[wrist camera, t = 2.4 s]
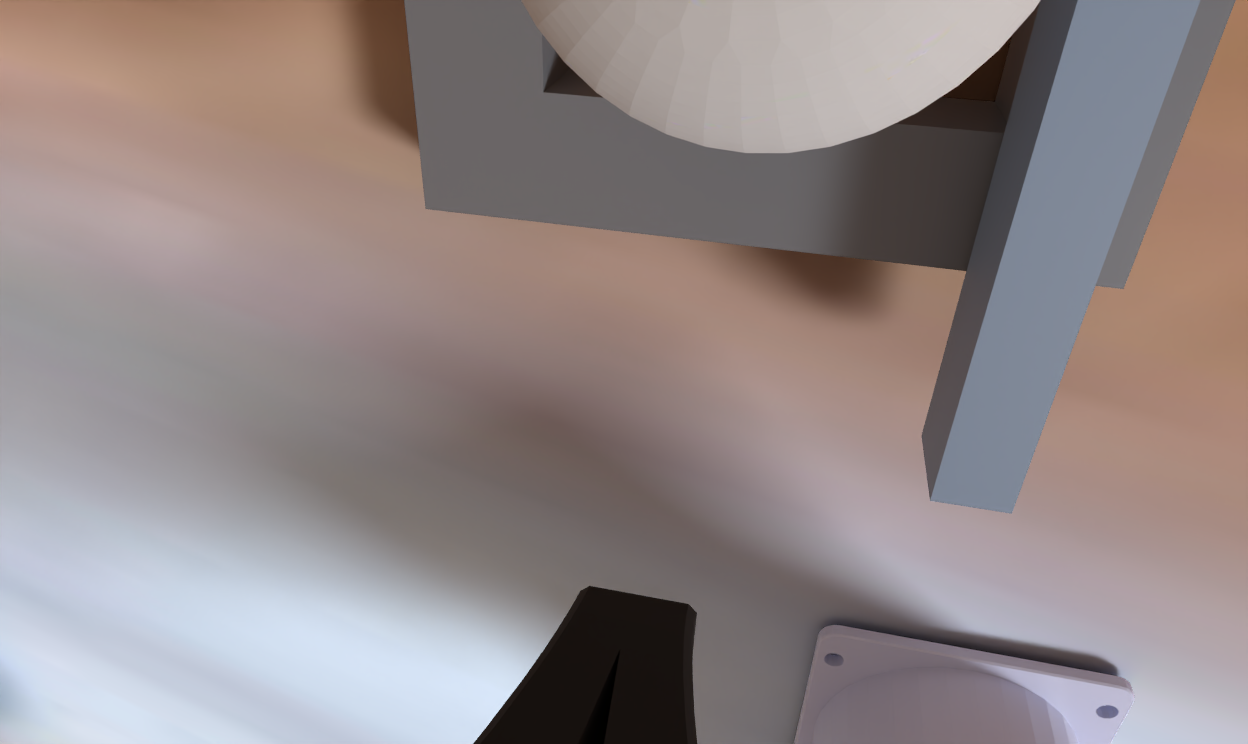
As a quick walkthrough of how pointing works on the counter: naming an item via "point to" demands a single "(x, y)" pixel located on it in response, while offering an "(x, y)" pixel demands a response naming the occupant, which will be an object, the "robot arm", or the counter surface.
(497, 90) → the grey flat frame
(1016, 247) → the blue-grey long bar
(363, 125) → the counter surface
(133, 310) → the counter surface
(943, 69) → the light bulb
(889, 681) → the robot arm
